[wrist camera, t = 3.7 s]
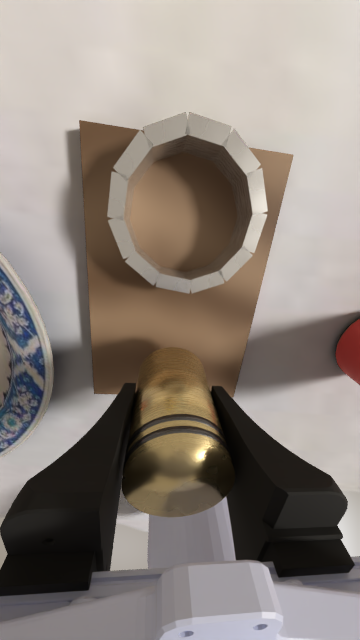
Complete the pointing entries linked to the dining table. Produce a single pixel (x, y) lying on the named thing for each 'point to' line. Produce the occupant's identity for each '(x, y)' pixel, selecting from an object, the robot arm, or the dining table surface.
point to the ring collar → (229, 158)
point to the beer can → (350, 351)
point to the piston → (175, 439)
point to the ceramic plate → (21, 362)
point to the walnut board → (170, 261)
